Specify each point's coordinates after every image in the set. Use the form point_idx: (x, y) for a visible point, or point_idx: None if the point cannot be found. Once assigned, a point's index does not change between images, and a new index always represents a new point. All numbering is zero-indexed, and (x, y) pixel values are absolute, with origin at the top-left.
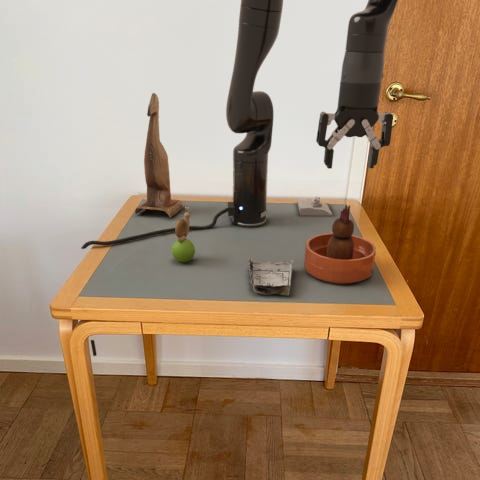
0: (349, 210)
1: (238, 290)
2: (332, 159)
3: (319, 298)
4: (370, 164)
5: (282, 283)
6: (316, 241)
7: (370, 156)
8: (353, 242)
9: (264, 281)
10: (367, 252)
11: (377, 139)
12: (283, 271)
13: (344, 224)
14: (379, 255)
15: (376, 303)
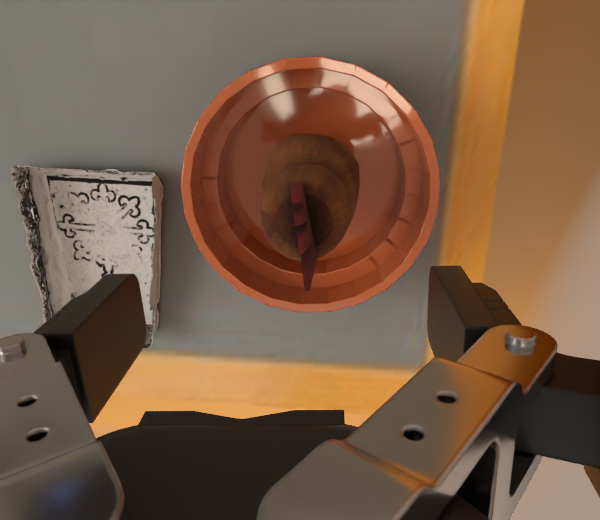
0: (310, 282)
1: (26, 294)
2: (121, 377)
3: (236, 337)
4: (432, 343)
5: (139, 261)
6: (232, 98)
7: (445, 344)
8: (351, 214)
9: (88, 248)
10: (419, 157)
11: (516, 503)
12: (139, 185)
13: (299, 257)
14: (497, 45)
15: (378, 363)
